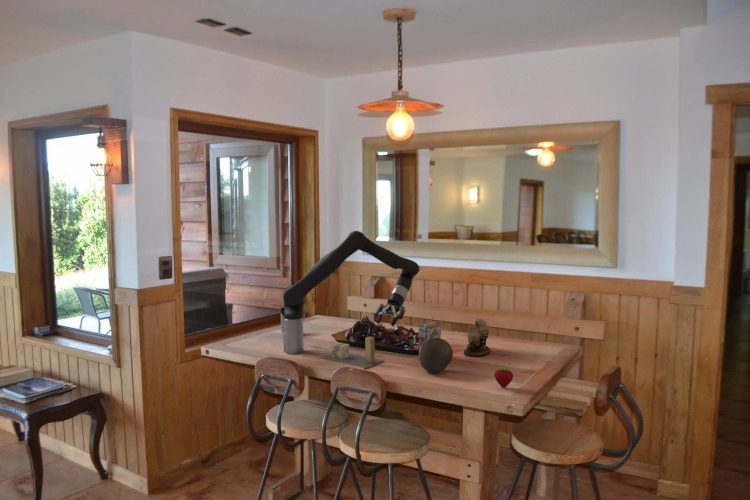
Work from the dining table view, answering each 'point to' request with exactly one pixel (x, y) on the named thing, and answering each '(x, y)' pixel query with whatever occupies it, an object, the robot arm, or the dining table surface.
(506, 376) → the strawberry
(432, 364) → the coconut
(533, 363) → the dining table surface
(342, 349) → the cube
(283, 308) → the glass holder
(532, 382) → the dining table surface
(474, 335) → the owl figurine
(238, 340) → the dining table surface
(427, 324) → the candy bar box
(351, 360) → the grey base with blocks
